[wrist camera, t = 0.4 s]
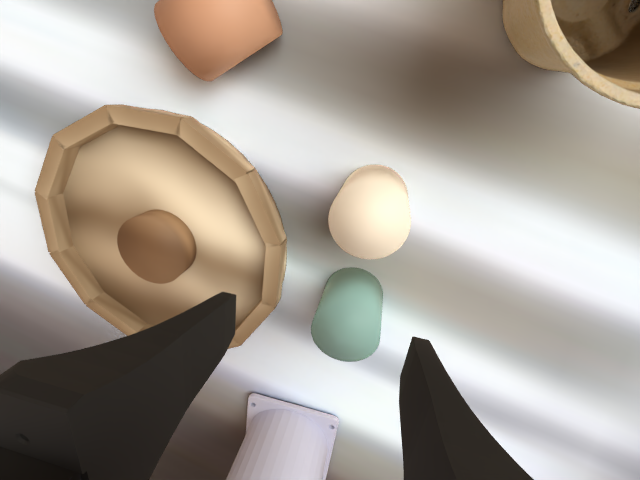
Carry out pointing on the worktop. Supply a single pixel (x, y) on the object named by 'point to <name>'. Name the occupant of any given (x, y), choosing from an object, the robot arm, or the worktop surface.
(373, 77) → the worktop surface
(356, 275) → the bead teal
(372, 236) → the bead cream
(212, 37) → the pink rounded lump
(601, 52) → the flower pot
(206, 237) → the ring tray
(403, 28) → the worktop surface
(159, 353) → the robot arm
